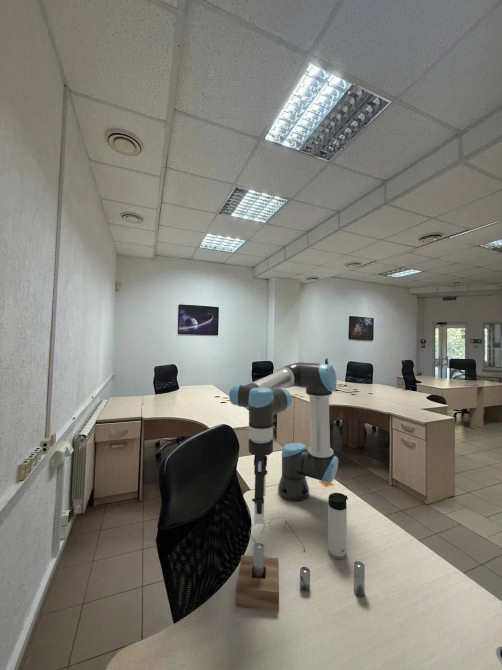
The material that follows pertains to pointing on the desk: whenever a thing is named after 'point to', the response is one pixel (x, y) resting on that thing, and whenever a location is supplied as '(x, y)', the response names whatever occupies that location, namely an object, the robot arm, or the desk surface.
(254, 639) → the desk surface
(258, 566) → the long pin
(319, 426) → the robot arm
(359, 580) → the medium pin
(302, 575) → the short pin
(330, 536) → the travel mug
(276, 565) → the collar block
